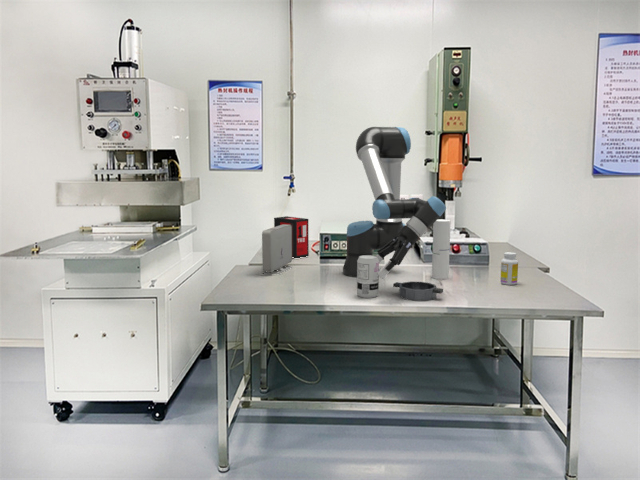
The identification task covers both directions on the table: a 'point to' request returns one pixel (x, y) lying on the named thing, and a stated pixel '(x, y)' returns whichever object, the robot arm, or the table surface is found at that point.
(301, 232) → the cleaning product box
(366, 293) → the supplement can
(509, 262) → the supplement bottle
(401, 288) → the cooker pot
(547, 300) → the table surface
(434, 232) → the cylindrical container
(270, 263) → the network device
